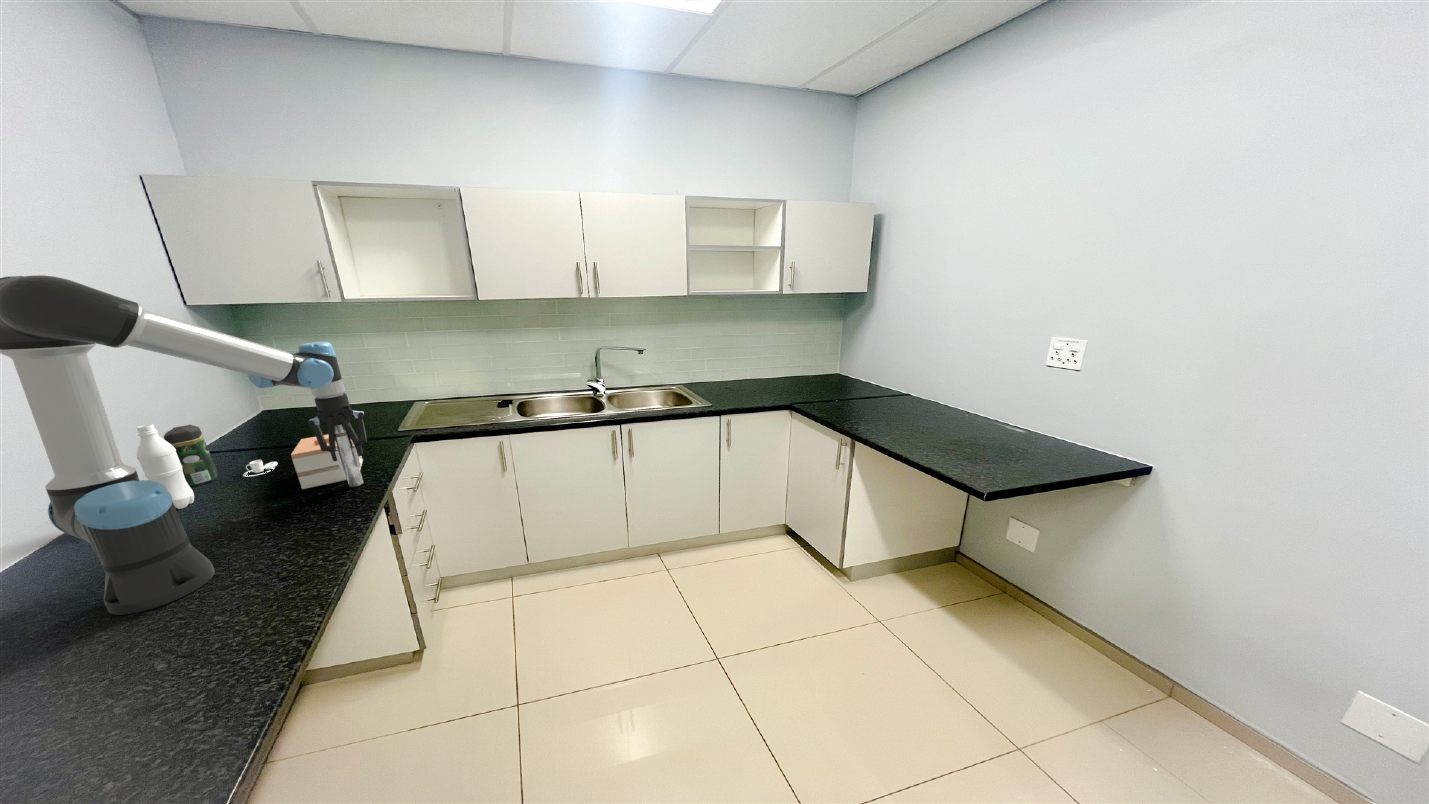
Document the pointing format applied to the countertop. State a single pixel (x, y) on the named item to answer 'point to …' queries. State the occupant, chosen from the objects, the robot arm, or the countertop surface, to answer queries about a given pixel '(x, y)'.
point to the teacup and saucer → (259, 467)
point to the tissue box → (316, 464)
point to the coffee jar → (192, 454)
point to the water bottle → (163, 465)
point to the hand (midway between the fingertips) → (351, 467)
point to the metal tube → (347, 456)
